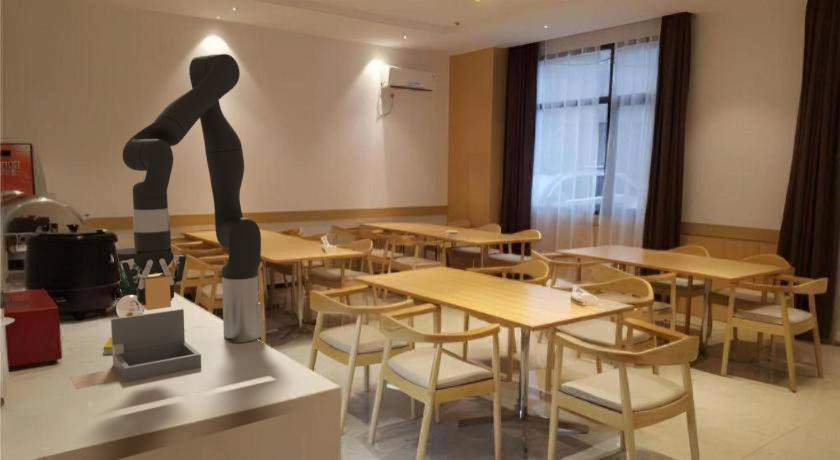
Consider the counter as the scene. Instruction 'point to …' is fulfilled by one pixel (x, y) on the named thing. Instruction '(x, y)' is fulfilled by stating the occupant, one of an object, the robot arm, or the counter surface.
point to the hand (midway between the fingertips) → (156, 302)
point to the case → (151, 345)
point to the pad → (94, 379)
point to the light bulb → (129, 306)
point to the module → (157, 292)
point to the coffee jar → (127, 255)
